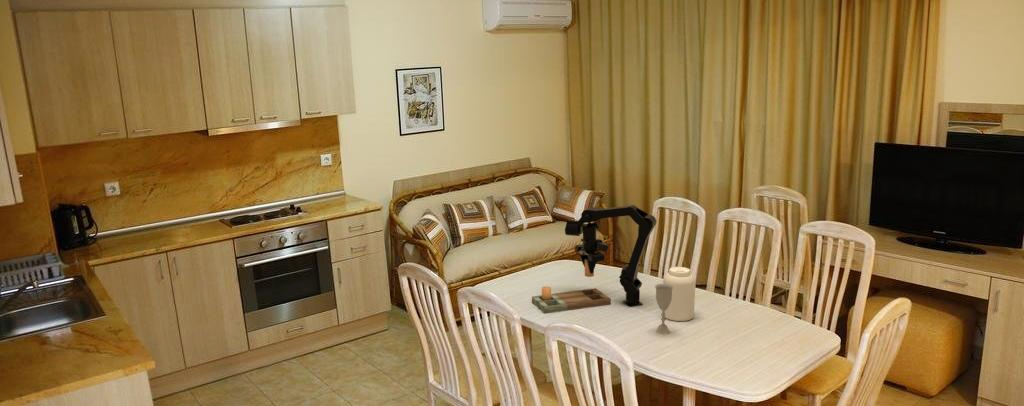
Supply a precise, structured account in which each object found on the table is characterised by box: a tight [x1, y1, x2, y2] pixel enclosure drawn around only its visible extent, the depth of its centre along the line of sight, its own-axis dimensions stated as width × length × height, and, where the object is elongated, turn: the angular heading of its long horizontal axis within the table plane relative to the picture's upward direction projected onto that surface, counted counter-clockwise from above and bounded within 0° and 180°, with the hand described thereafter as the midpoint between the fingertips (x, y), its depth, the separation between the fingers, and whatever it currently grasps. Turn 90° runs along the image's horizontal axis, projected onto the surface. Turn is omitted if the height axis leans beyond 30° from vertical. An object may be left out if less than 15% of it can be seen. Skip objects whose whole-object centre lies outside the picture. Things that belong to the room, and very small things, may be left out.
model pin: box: [541, 286, 552, 301], centre depth 319 cm, size 4×4×7 cm
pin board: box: [531, 288, 612, 314], centre depth 320 cm, size 15×30×2 cm, turn 109°
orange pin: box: [584, 258, 595, 278], centre depth 323 cm, size 4×4×7 cm
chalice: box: [654, 283, 673, 335], centre depth 285 cm, size 7×7×18 cm
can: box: [662, 266, 696, 322], centre depth 301 cm, size 12×12×20 cm
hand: (589, 272), depth 324 cm, fingers closed on orange pin, 4 cm apart
